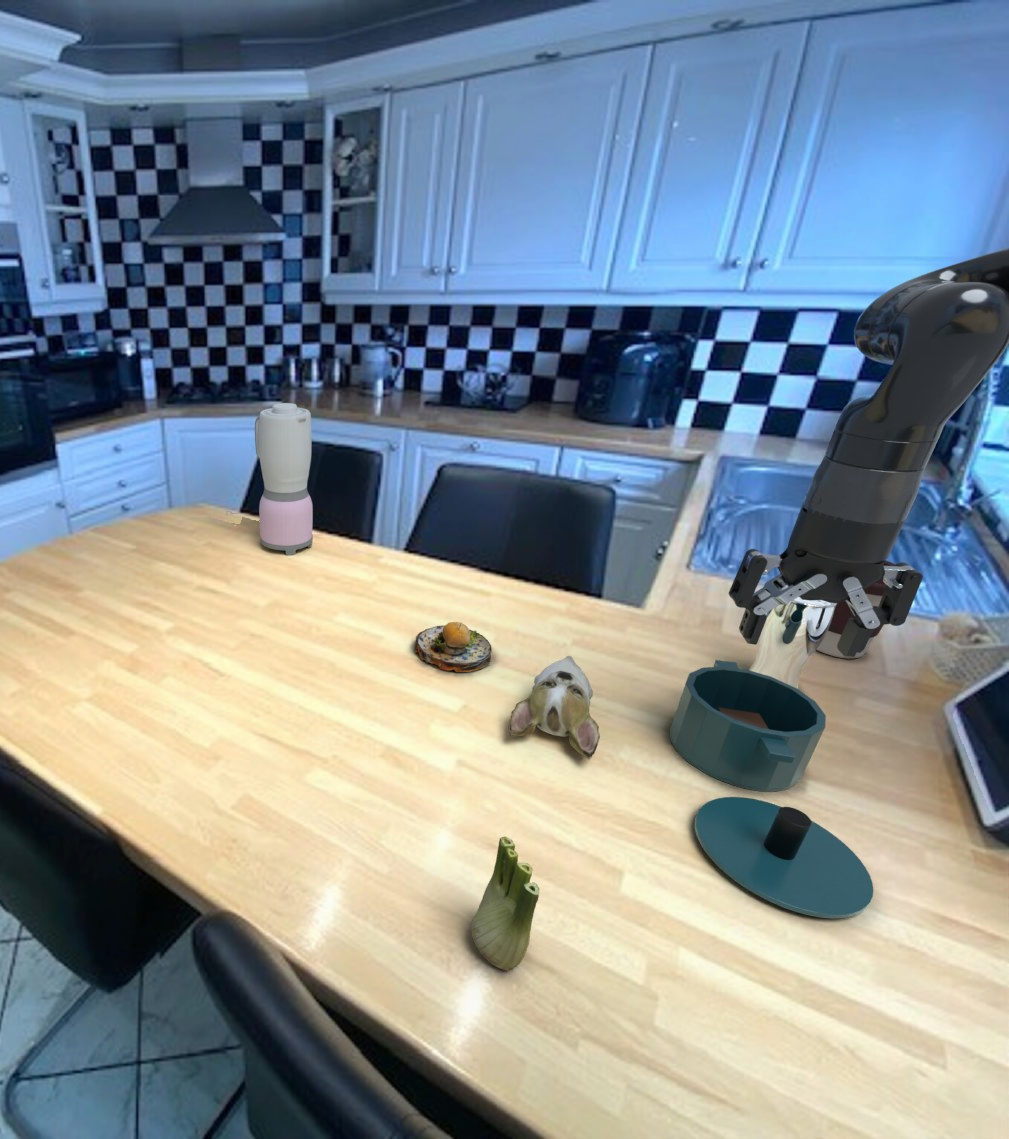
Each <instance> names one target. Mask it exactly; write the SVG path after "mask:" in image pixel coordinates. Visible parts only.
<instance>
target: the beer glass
mask: <svg viewBox="0 0 1009 1139" xmlns="http://www.w3.org/2000/svg"><path fill="white" fill-rule="evenodd" d="M787 587H788V586H787V585H786V586H784V587H783V588H782V590H784V589H786V588H787ZM836 605H837V603H829V602H826V601H823V600H812V601H810V600H802V599H801V598H800V597H797V598H796V599H794V600H792V601H791V602H789V603H787V604H785V605H782V604H781V605H779V606H777V607H775V608H774V609H772V610H770V611H769V612H767V613H766V616H767V619H766V622H765V624H764V627H763V630H762V632H761V635H760V637H759V640H758V647H757V653H756V656H755V658H754V661H753V663H752V664H751V665H750V667H749V668H748V670H750V671H753V672H757V673H760V674H763V675H767V676H770V677H773V678H775V679H777V680H779V681H782V682H784V683H786V684H788V685H790V686H793V687H795V688H797V689H798V690H799V685H800V684H799V683H800V678H801V675H802V671H803V670H804V667H805V666H806V665H807V663H808V662H809V660H810V659H811V658H812V656H813V655H814V653H815V652H816V651H817V650H816V649H817V648H818V647H819V645H820V644H821V642H822V641H823V639H824V637H825V635H826V633H827V631H828V629H829V626H830V624H831V621H832V618H833V615H834V611H835V608H836Z"/></svg>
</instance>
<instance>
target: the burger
mask: <svg viewBox="0 0 1009 1139" xmlns="http://www.w3.org/2000/svg"><path fill="white" fill-rule="evenodd" d="M492 650H493V648H492V644H491V643H490V642H489V639H488V638H486V637H485V636H484V635H483V634H480V633H479V632H478V631H477V630H471V629H469V627H468V626H467V625H466V624H465V623H463V622H461V621H451V622H448V623H446V624H445V625H436V626H432V627H429V628H425V629H423V630H422V631H420V632H419V633H417V635H416V637H415V645H414V651H415V653H416V654H418V655H419V658H420V659H421V661H424V662H425V663H430V664H432V665H435V666H437V667H438V668H439V669H440V670H444V671H449V672H450V671H452V670H454V671H455V673H468V672H476V671H478V670H481V669H484V668H485V667H487V666H488V664H489V663H491V660H492Z"/></svg>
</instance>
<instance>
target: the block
mask: <svg viewBox="0 0 1009 1139" xmlns="http://www.w3.org/2000/svg"><path fill="white" fill-rule="evenodd" d="M717 710H718V711H719V712H721V713H723V714H725V715H727V716H729V717H731V718H733V719H735V720H738V721H741V722H744V723H747V724H750V725H753V726H756V727H759V728H764V729H768V727H767V725H766V724H765V722H764V721H763V719H762V717H761V716H760V714H759V713H753V712H746V711H739V710H733V709H726V708H719V707H718V708H717Z"/></svg>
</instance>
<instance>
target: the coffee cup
mask: <svg viewBox="0 0 1009 1139" xmlns="http://www.w3.org/2000/svg"><path fill="white" fill-rule="evenodd" d="M894 565H896V564H895V563H893V562H892V561H890V560H887V559H886V560H884V566H894ZM883 579H884V578H882V579H881V580H880V581H878V582H877V583H875V584H873V585H872V586H870V587H868V588H867V589H865V590H864V592H865V594H866V595H867V597H868V599H869V601H870V603H871V604H872V606H873V608H878V606H879V604H880V601H881V598H882V596H883V593H884V590H885V588H886V584H885V583H884V582H883ZM854 617H855V616H854V614H853V613H852V611H851V609H850V607H849V605H848V604H847V602H846V601H841V602H840V603H839V604H837V605H836V608H835V611H834V615H833V618H832V621H831V624H830V626H829V629H828V631H827V633H826V635H825V637H824V639H823V641H822V642H821V644H820V645H819V647H818V648H817V649H816V651H818V652H820V653H823V654H825V655H828V656H832V657H836V658H840V659H858V658H861V657H863V656H864V655H865V654H866V652H867V650H868V649H869V647H870V645H871V644H872V642H873V640H874V639H875V637H877V636H879V634H880V633H881V630H882V629H883V627H884V625H880V626H878V627H877V628H875V629H874V630H873V632H872V634H871V636H870V638H869V641H868V643H867V644H866V647H865V649H864V650H863V651H862V652H861V653H856V655H855V657H847V656H843V654H842V653H841V652H840V651H839V650H838V648H837V644H838V642H839V639H840V637H841V635H842V633H843V631H844V628H845V626H846V624H847V622H848V619H849V618H854Z"/></svg>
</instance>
